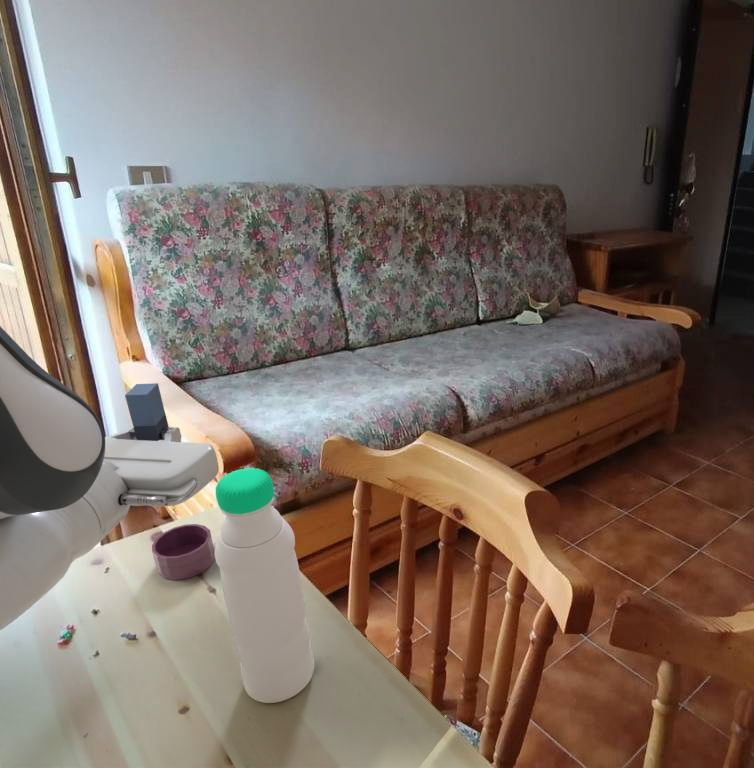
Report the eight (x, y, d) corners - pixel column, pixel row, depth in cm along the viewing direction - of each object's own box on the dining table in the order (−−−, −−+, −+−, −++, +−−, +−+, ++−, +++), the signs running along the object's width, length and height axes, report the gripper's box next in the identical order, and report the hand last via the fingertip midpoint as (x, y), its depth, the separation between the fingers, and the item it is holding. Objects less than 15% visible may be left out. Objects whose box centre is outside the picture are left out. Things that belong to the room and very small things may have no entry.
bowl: (149, 581, 79) (142, 559, 77) (169, 546, 85) (164, 525, 83) (205, 578, 80) (200, 556, 78) (222, 543, 86) (217, 522, 84)
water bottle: (275, 719, 62) (233, 511, 52) (230, 685, 65) (182, 484, 55) (329, 669, 68) (301, 472, 57) (284, 640, 71) (250, 450, 60)
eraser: (151, 493, 75) (124, 395, 69) (160, 479, 78) (136, 383, 72) (172, 492, 75) (147, 394, 70) (181, 478, 78) (158, 383, 72)
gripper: (171, 478, 60) (238, 411, 72) (-32, 467, 61) (68, 404, 74) (185, 531, 63) (247, 458, 75) (-11, 520, 64) (83, 450, 76)
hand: (157, 431), depth 74 cm, fingers closed on eraser, 3 cm apart
